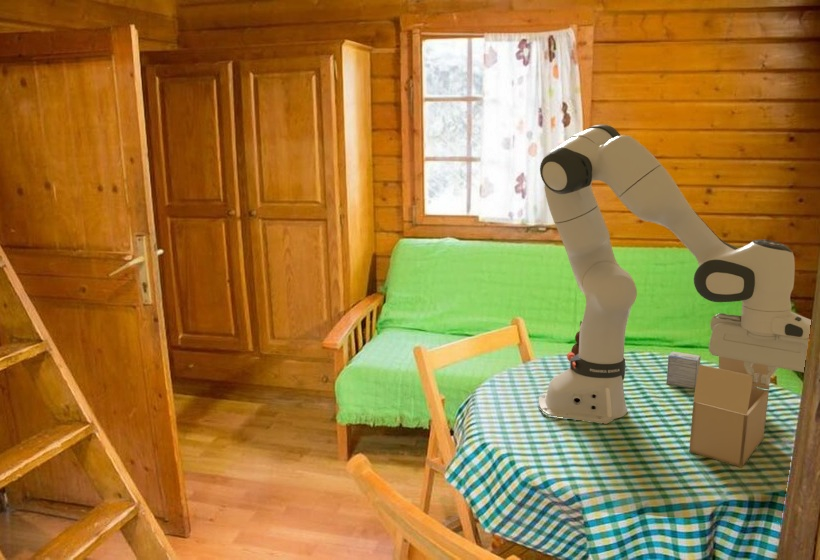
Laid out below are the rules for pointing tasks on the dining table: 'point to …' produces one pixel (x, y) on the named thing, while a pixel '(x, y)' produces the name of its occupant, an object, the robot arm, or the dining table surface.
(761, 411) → the carton
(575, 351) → the wooden figurine
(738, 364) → the back flap
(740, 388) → the front flap
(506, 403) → the dining table surface
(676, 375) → the medicine box
